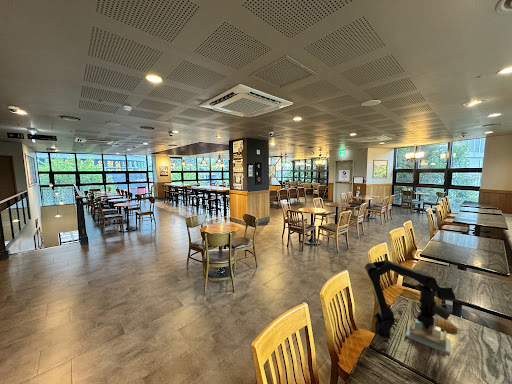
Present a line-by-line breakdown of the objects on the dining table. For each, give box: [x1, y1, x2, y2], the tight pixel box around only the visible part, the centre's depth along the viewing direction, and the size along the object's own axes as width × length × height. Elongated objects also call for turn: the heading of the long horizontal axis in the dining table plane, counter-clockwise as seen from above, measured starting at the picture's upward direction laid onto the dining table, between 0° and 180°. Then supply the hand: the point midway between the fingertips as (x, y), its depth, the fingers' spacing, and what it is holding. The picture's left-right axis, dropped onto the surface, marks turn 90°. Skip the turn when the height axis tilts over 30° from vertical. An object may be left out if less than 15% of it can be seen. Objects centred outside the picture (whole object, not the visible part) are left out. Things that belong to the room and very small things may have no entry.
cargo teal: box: [414, 318, 422, 330], centre depth 109 cm, size 3×3×3 cm
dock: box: [405, 324, 451, 355], centre depth 107 cm, size 17×10×2 cm, turn 45°
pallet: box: [409, 318, 447, 346], centre depth 106 cm, size 14×7×7 cm, turn 45°
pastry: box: [434, 317, 458, 334], centre depth 115 cm, size 9×7×4 cm
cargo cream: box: [432, 326, 442, 337], centre depth 104 cm, size 3×3×3 cm
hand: (427, 327), depth 106 cm, fingers closed on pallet, 2 cm apart
